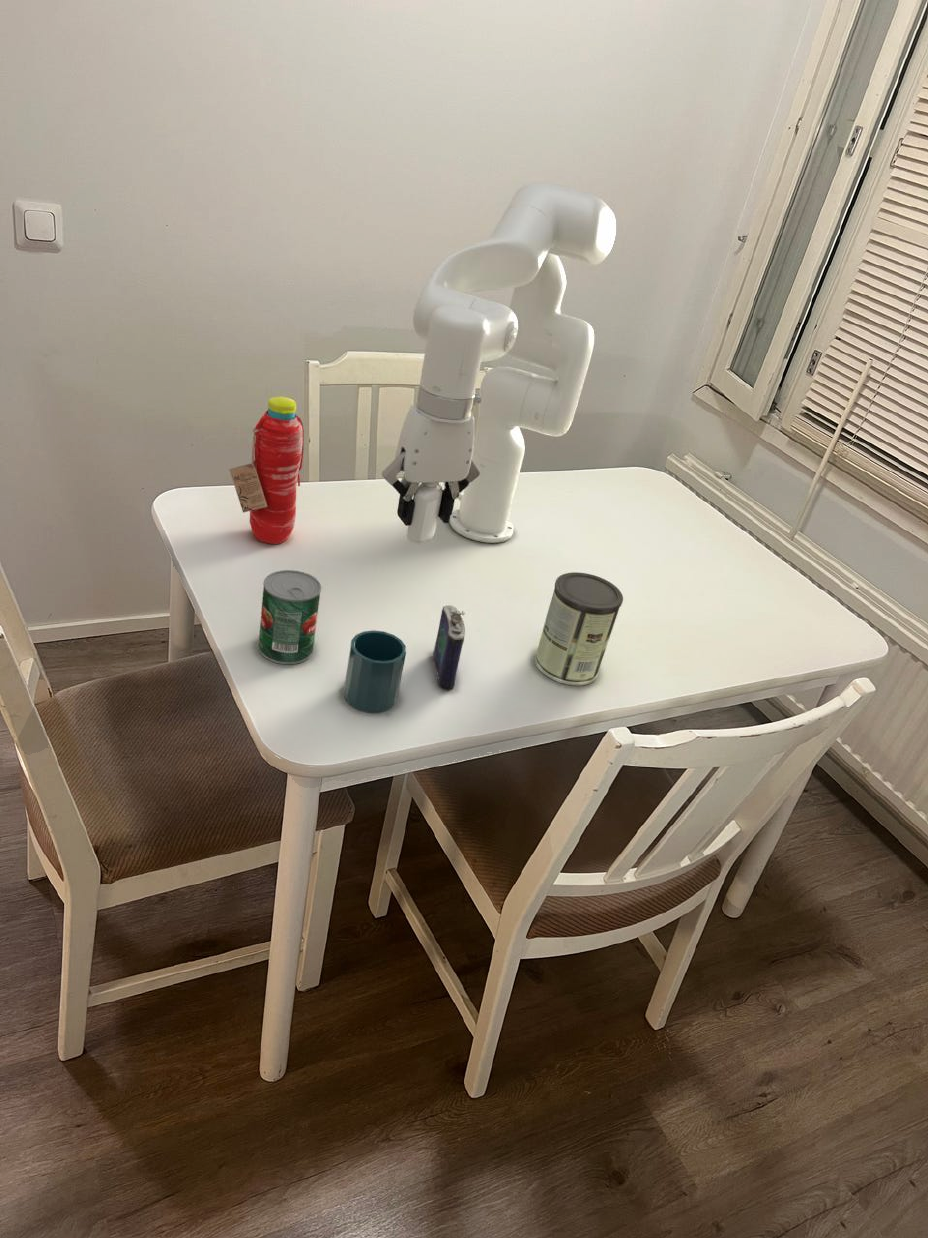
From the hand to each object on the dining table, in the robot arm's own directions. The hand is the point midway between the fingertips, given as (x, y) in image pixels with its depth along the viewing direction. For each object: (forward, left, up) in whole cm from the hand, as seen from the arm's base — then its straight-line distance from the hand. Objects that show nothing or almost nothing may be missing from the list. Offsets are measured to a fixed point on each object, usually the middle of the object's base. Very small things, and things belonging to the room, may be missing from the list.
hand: (423, 519), depth 131 cm
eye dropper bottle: (0, 0, -3) cm, 3 cm away
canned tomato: (+3, -20, -19) cm, 28 cm away
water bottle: (-29, -14, -19) cm, 38 cm away
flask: (+13, +1, -19) cm, 23 cm away
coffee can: (+16, +21, -19) cm, 32 cm away
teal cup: (+16, -12, -19) cm, 27 cm away
